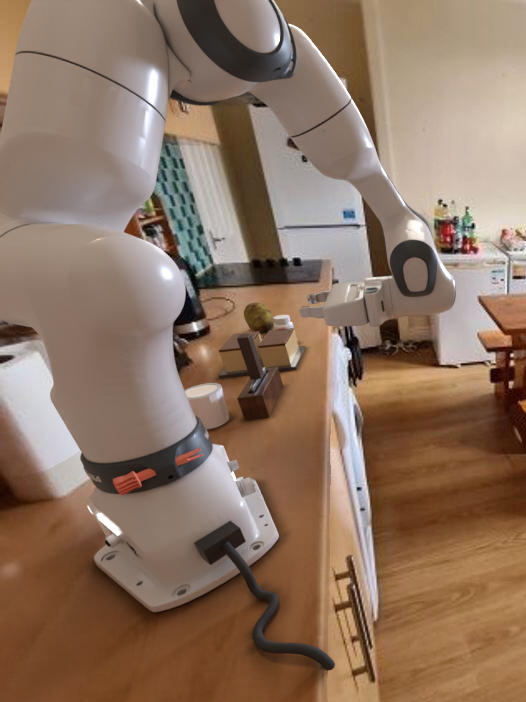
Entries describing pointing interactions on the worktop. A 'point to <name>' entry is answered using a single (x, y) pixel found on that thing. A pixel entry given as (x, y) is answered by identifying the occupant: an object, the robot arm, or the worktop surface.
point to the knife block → (261, 396)
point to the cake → (263, 352)
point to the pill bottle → (282, 322)
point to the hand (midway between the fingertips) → (304, 305)
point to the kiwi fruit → (258, 317)
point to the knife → (251, 360)
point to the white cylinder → (208, 404)
